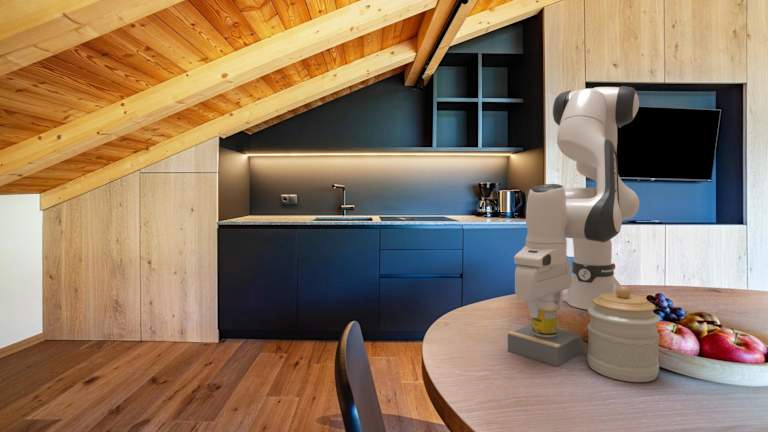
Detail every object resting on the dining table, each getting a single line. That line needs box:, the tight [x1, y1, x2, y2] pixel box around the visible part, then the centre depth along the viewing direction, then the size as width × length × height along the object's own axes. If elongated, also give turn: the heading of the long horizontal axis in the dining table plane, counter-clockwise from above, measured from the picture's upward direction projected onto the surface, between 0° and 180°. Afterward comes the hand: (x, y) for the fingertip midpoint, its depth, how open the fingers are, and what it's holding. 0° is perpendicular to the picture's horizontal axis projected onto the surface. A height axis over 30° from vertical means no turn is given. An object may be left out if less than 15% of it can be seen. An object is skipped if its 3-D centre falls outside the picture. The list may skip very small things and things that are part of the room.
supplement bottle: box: [531, 294, 558, 338], centre depth 95 cm, size 5×5×10 cm
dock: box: [507, 323, 583, 367], centre depth 95 cm, size 12×12×4 cm
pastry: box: [582, 324, 588, 342], centre depth 104 cm, size 9×7×4 cm
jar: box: [586, 285, 661, 383], centre depth 85 cm, size 13×13×18 cm
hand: (544, 313), depth 95 cm, fingers open, 8 cm apart
